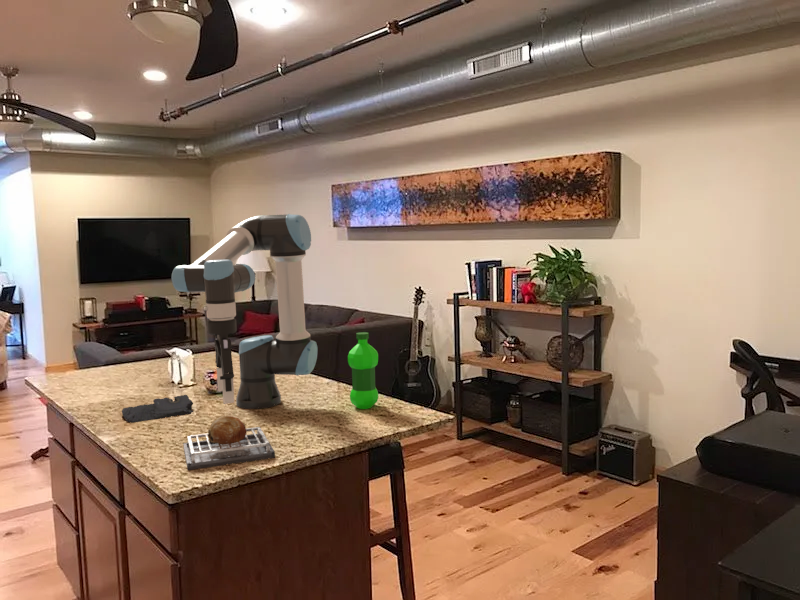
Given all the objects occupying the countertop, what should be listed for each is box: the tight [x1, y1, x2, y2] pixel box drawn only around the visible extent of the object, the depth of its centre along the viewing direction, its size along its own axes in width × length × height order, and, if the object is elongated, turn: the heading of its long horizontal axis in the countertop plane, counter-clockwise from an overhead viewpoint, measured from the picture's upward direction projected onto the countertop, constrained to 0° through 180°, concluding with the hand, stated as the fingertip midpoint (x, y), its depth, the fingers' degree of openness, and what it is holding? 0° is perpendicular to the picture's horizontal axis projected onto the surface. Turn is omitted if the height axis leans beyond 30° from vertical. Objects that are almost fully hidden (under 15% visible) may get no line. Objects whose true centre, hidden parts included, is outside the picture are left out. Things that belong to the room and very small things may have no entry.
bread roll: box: [207, 415, 248, 445], centre depth 180 cm, size 10×10×8 cm
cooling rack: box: [182, 426, 276, 471], centre depth 180 cm, size 18×22×4 cm
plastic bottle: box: [347, 331, 379, 410], centre depth 223 cm, size 10×10×25 cm
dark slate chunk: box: [121, 394, 194, 424], centre depth 222 cm, size 15×22×5 cm
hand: (225, 396), depth 179 cm, fingers open, 13 cm apart
